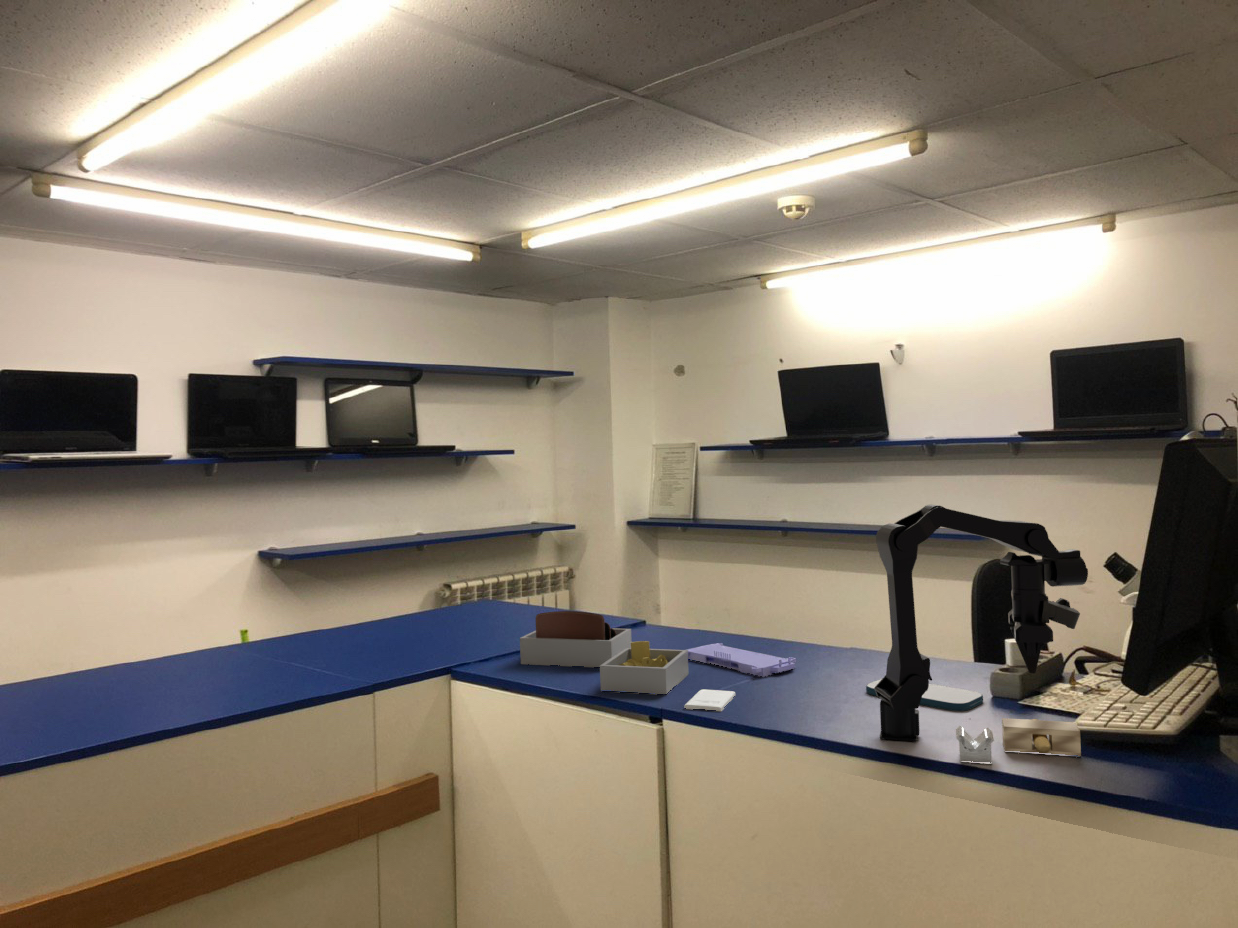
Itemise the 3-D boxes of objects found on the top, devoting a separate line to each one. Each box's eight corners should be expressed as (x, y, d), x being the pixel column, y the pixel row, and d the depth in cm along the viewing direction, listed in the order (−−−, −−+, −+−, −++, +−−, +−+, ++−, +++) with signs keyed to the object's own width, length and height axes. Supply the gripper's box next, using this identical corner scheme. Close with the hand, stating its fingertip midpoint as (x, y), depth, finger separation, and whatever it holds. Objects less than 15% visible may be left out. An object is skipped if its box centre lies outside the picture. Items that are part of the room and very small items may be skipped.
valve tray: (600, 691, 208) (599, 665, 208) (627, 671, 226) (626, 648, 226) (666, 695, 202) (665, 668, 202) (688, 674, 220) (687, 650, 220)
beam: (1004, 752, 157) (1003, 726, 157) (1002, 743, 161) (1001, 718, 161) (1080, 757, 153) (1080, 731, 153) (1076, 748, 157) (1075, 722, 157)
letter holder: (605, 666, 233) (603, 612, 233) (535, 663, 240) (533, 611, 240) (617, 657, 243) (615, 605, 243) (550, 655, 249) (548, 604, 249)
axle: (1035, 753, 154) (1034, 739, 154) (1028, 731, 165) (1028, 718, 165) (1050, 754, 153) (1050, 740, 153) (1042, 732, 164) (1042, 719, 164)
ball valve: (616, 687, 214) (641, 689, 206) (613, 644, 216) (637, 644, 208) (657, 681, 222) (683, 683, 214) (654, 639, 223) (679, 639, 215)
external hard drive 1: (735, 698, 200) (721, 714, 188) (700, 696, 203) (684, 711, 191) (735, 691, 200) (721, 706, 188) (700, 689, 203) (684, 703, 191)
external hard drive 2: (860, 695, 198) (860, 686, 198) (888, 684, 206) (887, 676, 206) (963, 715, 180) (962, 705, 180) (988, 702, 188) (988, 693, 188)
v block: (994, 765, 151) (993, 736, 151) (957, 762, 153) (956, 734, 153) (992, 755, 156) (992, 727, 155) (956, 753, 158) (955, 725, 157)
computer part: (762, 681, 212) (803, 670, 221) (761, 664, 212) (803, 653, 221) (678, 661, 236) (719, 652, 245) (677, 645, 236) (718, 636, 245)
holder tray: (520, 664, 238) (519, 638, 238) (545, 650, 254) (544, 626, 253) (612, 668, 230) (611, 641, 230) (632, 654, 245) (631, 629, 245)
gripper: (1083, 596, 158) (1086, 684, 158) (1068, 581, 176) (1071, 660, 176) (1014, 595, 162) (1017, 681, 162) (1006, 580, 179) (1009, 658, 179)
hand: (1030, 669), depth 170 cm, fingers open, 5 cm apart
